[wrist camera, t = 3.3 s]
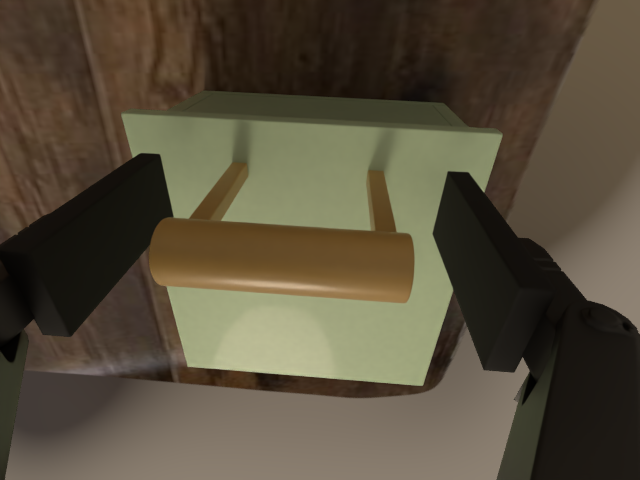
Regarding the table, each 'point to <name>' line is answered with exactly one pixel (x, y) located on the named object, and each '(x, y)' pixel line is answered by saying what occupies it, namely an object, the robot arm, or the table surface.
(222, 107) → the chest
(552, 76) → the table surface
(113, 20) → the table surface
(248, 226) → the lid
